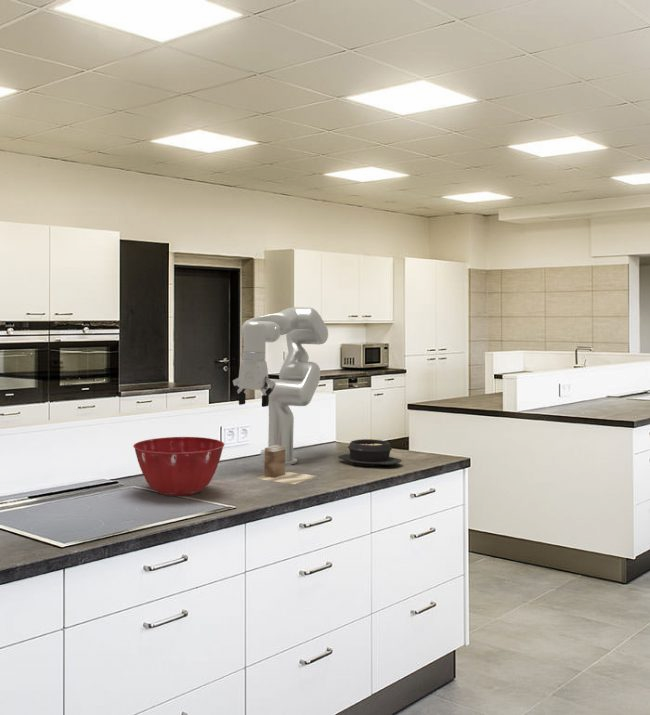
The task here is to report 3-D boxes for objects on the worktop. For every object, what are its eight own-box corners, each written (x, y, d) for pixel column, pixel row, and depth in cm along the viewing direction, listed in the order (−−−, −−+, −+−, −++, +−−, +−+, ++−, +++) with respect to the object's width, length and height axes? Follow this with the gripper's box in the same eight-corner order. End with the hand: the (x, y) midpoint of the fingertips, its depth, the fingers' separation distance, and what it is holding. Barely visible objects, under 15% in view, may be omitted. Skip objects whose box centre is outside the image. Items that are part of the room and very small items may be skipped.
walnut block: (264, 476, 285) (264, 447, 284) (275, 473, 291) (275, 445, 290) (274, 477, 283) (274, 449, 282) (284, 474, 289) (285, 446, 288)
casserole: (329, 464, 314) (329, 442, 313) (351, 456, 330) (352, 436, 329) (388, 471, 301) (389, 448, 301) (409, 463, 318) (409, 442, 317)
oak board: (254, 480, 282) (254, 478, 282) (279, 472, 295) (279, 470, 295) (294, 485, 274) (294, 484, 274) (318, 477, 288) (318, 476, 288)
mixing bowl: (181, 506, 243) (181, 454, 242) (113, 493, 258) (113, 444, 257) (241, 489, 266) (242, 442, 265) (176, 478, 282) (176, 433, 281)
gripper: (227, 356, 290) (227, 404, 291) (269, 358, 282) (268, 408, 283) (240, 355, 297) (239, 402, 298) (280, 357, 289) (279, 406, 289)
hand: (253, 405), depth 290 cm, fingers open, 9 cm apart
